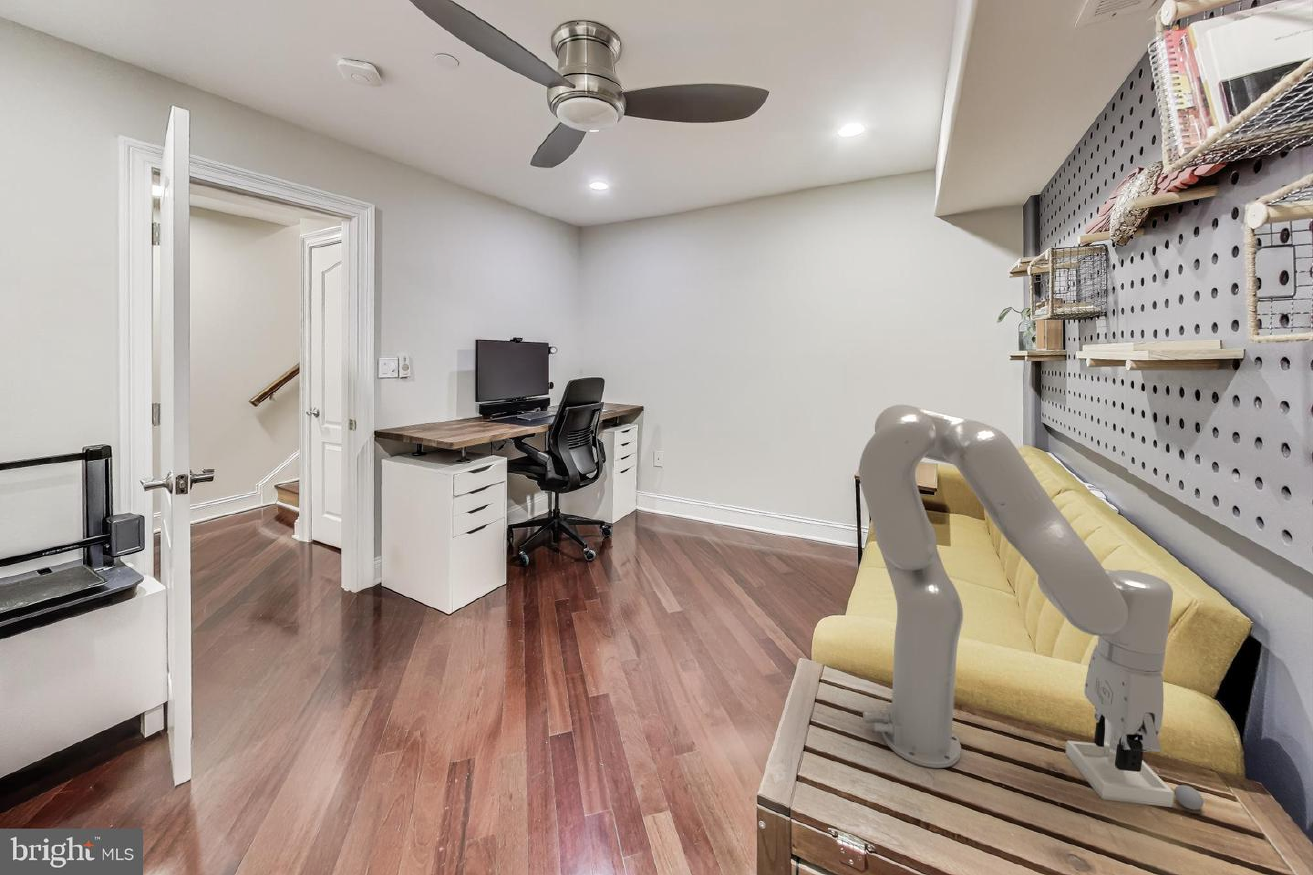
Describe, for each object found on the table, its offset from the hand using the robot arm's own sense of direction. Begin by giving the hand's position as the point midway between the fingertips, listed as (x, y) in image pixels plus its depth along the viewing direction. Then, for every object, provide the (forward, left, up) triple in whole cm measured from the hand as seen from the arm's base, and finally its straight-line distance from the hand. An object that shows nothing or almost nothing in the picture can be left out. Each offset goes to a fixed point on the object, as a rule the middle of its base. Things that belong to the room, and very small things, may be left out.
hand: (1116, 756), depth 80 cm
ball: (+7, -4, -4) cm, 9 cm away
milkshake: (0, 0, -2) cm, 2 cm away
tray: (0, 0, -4) cm, 4 cm away
